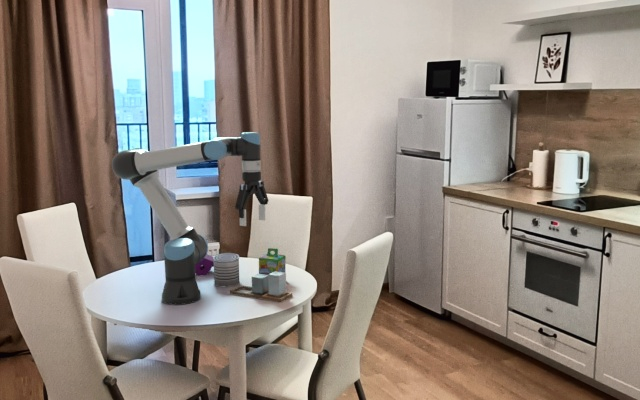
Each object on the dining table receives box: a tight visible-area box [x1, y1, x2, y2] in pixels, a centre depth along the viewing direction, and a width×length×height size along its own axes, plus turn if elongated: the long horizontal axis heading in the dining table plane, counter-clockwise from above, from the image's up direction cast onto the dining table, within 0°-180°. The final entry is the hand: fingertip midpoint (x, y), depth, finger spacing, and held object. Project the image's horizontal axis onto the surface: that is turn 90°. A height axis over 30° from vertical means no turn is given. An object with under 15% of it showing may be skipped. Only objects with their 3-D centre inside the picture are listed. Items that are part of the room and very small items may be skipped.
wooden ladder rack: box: [229, 284, 293, 303], centre depth 248 cm, size 9×25×1 cm, turn 62°
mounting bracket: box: [195, 253, 214, 277], centre depth 282 cm, size 9×8×18 cm
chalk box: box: [258, 247, 287, 275], centre depth 265 cm, size 9×9×15 cm
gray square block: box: [251, 273, 269, 296], centre depth 248 cm, size 5×5×8 cm
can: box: [213, 252, 240, 288], centre depth 265 cm, size 11×11×12 cm
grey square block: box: [268, 271, 287, 298], centre depth 244 cm, size 5×5×10 cm
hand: (252, 222), depth 250 cm, fingers open, 13 cm apart
